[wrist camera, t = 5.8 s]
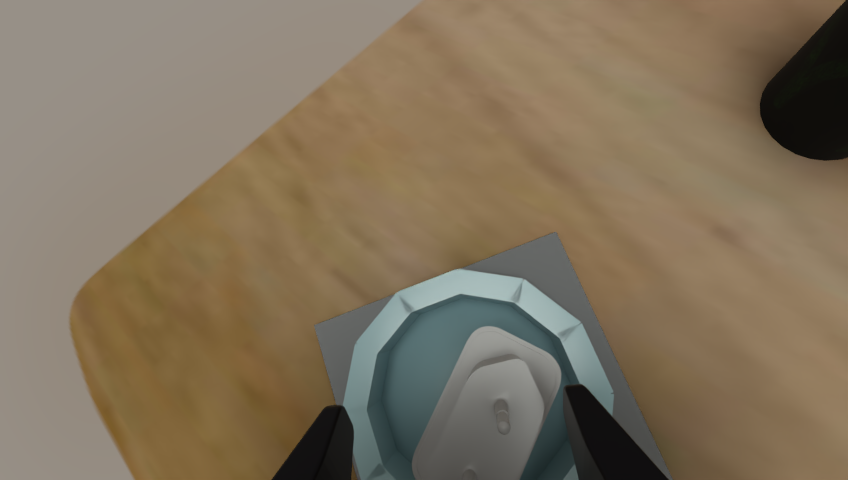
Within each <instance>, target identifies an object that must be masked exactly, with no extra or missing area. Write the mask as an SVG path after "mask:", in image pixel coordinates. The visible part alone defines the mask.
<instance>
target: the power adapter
mask: <svg viewBox="0 0 848 480" xmlns="http://www.w3.org/2000/svg"><path fill="white" fill-rule="evenodd" d="M560 383H561V370H560V367H559V365H558V363H557V362H556V360H555V359H554V358H553V357H552V356H551V355H550V354H549V353H547V352H546V351H544V350H542V349H540V348H538V347H536V346H534V345H532V344H530V343H528V342H526V341H524V340H522V339H520V338H518V337H516V336H514V335H512V334H510V333H508V332H506V331H504V330H502V329H500V328H497V327H492V326H486V327H481V328H479V329H477V330H475V331H474V332H473V333H472V334H471V336H470V337H469V339H468V340H467V342H466V344H465V346H464V348H463V351H462V353H461V355H460V357H459V359H458V361H457V363H456V365H455V368H454V370H453V372H452V374H451V376H450V378H449V380H448V382H447V384H446V387H445V389H444V391H443V393H442V395H441V397H440V399H439V401H438V403H437V406H436V408H435V410H434V412H433V414H432V416H431V418H430V420H429V422H428V425H427V427H426V429H425V431H424V433H423V435H422V437H421V439H420V442H419V444H418V446H417V448H416V450H415V453H414V456H413V459H412V471H413V475H414V477H415V479H416V480H520V477H521V475H522V473H523V470H524V468H525V466H526V463H527V461H528V459H529V457H530V454H531V452H532V450H533V447H534V445H535V443H536V440H537V438H538V436H539V433H540V431H541V429H542V426H543V424H544V422H545V420H546V417H547V415H548V413H549V410H550V408H551V406H552V403H553V401H554V399H555V396H556V394H557V392H558V389H559V386H560Z"/></svg>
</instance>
